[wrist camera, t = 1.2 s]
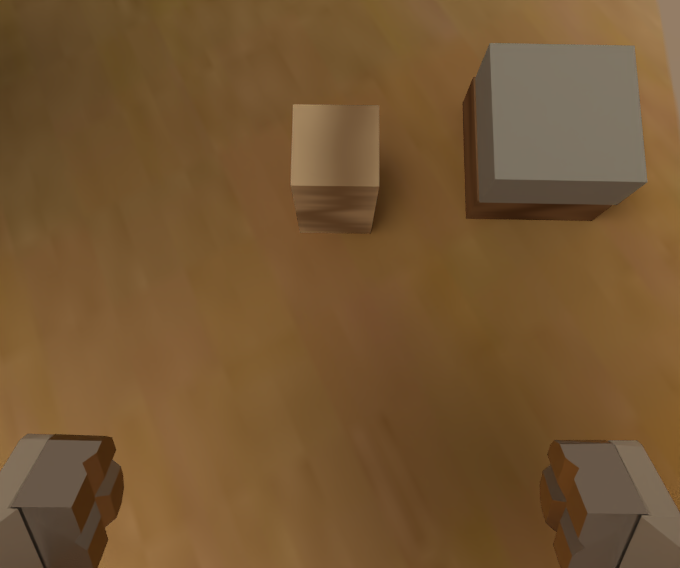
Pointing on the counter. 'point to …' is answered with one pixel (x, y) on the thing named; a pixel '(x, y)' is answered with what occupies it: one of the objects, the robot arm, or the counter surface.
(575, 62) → the slate block
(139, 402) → the counter surface
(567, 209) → the walnut block
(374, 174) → the oak pillar
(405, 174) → the counter surface
